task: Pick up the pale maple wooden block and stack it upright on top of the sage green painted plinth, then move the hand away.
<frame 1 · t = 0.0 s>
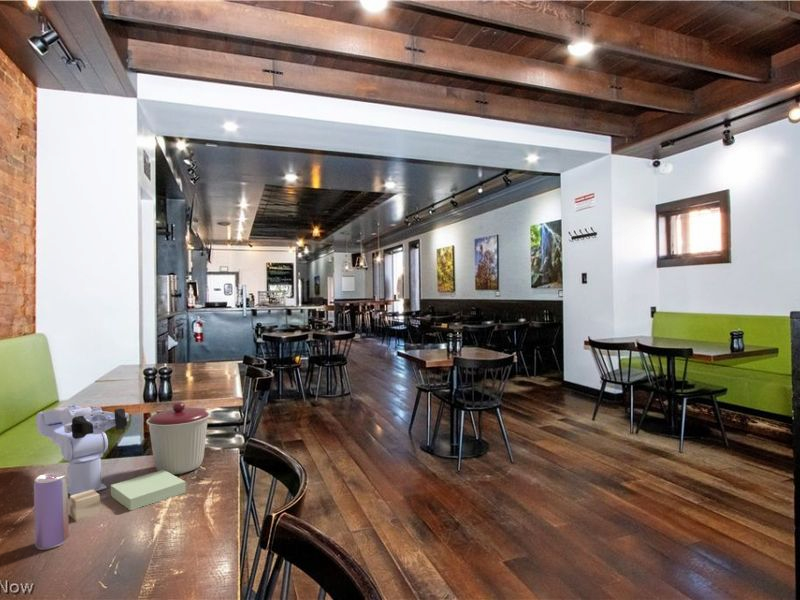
hand: (108, 425, 117), 22 cm above the table, tool horizontal, fingers open, 7 cm apart
maple block: (85, 515, 114), on the table
canister: (179, 469, 144), on the table
green plinth: (148, 494, 126), on the table
beverage can: (52, 544, 101), on the table
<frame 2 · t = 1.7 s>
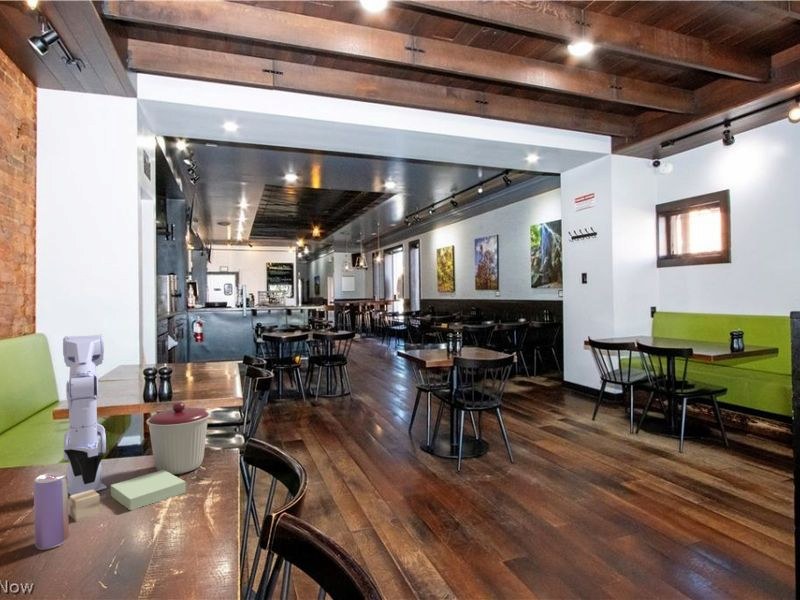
hand: (84, 478, 114), 9 cm above the table, tool pointing down, fingers open, 7 cm apart
nothing on the table moved.
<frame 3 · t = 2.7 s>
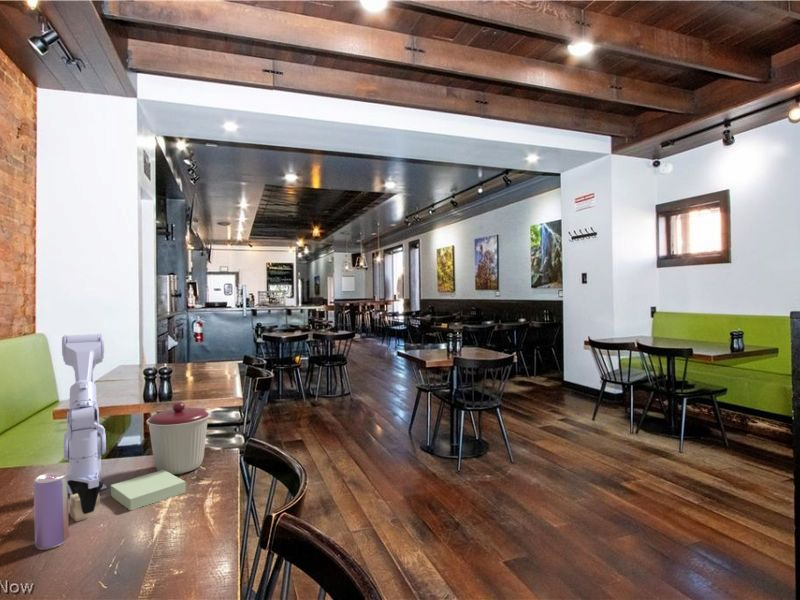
hand: (84, 509, 114), 1 cm above the table, tool pointing down, fingers closed on maple block, 5 cm apart
maple block: (85, 514, 114), on the table, touching gripper
everything else where it was.
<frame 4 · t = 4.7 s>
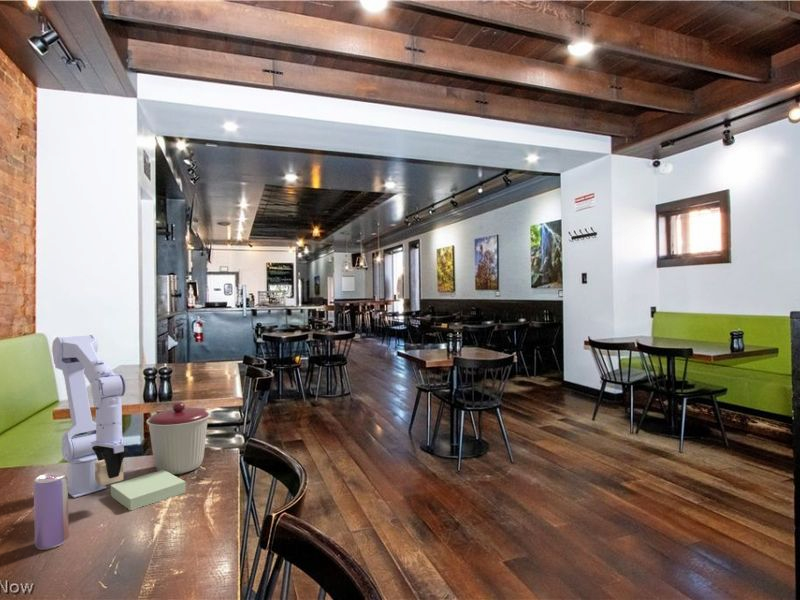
hand: (110, 474, 119), 8 cm above the table, tool pointing down, fingers closed on maple block, 5 cm apart
maple block: (109, 480, 119), point 7 cm above the table, touching gripper
everything else where it was.
when the fingers open (6 cm above the table, at t = 6.7 s): maple block stays where it is, resting on green plinth.
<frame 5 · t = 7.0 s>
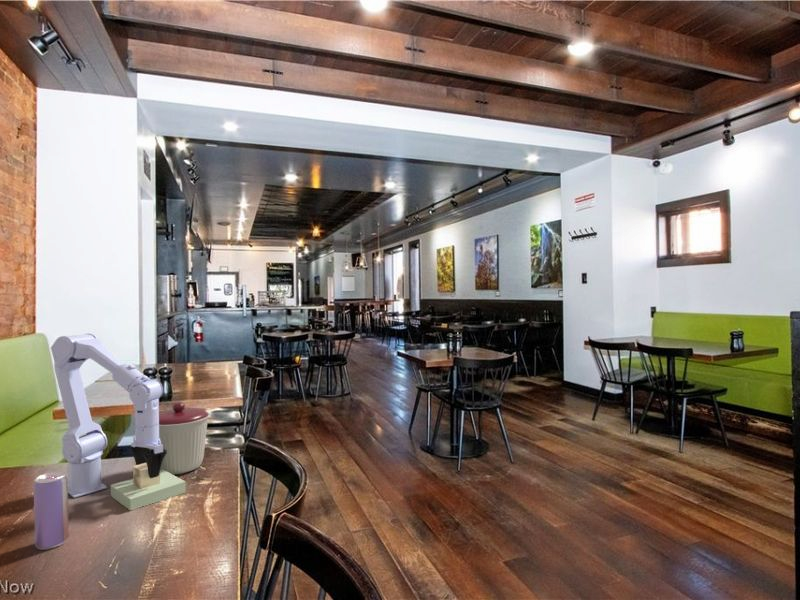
hand: (148, 473, 126), 6 cm above the table, tool pointing down, fingers open, 7 cm apart
maple block: (146, 483, 126), point 3 cm above the table, touching green plinth
everything else where it was.
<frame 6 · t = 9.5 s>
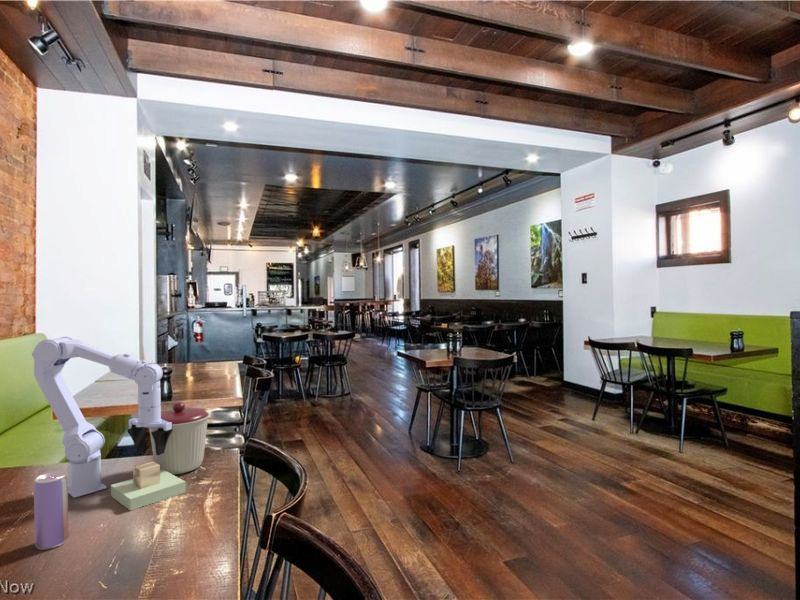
hand: (150, 452, 132), 9 cm above the table, tool pointing down, fingers open, 7 cm apart
nothing on the table moved.
at the end: maple block inside the target area on the green plinth (0.4 cm from its centre), point 3.0 cm above the green plinth's base; maple block tilted 0°; the gripper is holding nothing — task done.
